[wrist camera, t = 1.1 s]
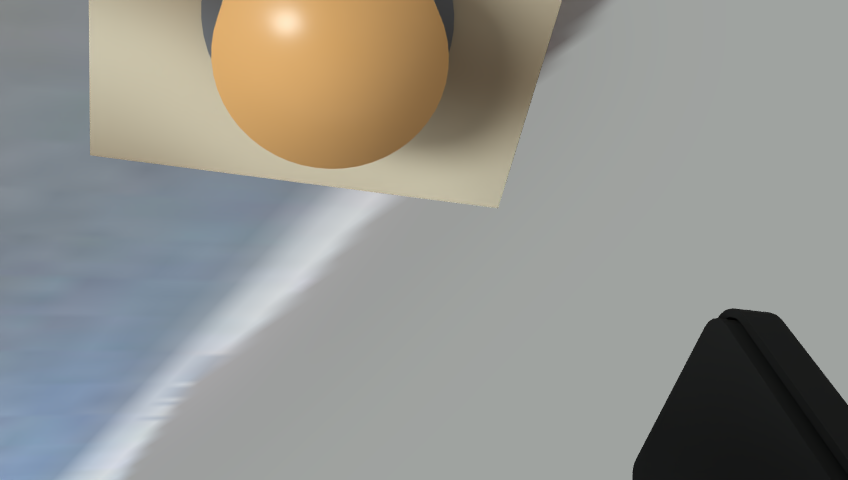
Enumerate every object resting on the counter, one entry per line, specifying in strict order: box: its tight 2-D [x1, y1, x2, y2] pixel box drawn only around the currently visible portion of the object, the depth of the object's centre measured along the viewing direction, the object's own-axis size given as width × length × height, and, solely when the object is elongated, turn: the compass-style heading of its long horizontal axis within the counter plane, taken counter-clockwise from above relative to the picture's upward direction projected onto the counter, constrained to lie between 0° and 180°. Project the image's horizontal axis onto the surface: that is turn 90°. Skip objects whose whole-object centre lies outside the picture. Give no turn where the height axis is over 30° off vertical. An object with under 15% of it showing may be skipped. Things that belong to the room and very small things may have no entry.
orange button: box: [211, 0, 449, 169], centre depth 18 cm, size 5×5×2 cm
